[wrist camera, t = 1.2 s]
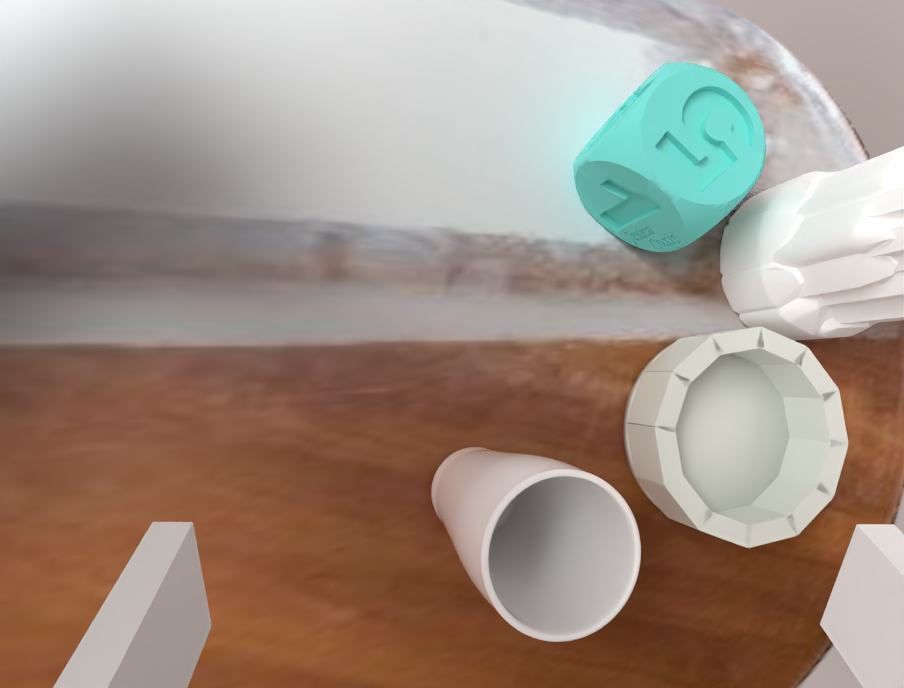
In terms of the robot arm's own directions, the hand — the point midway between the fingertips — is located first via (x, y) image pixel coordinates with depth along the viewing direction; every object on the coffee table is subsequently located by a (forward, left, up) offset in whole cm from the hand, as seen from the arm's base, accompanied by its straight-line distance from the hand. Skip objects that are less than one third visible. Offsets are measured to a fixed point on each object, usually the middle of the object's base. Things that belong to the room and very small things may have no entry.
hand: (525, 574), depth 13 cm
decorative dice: (-3, +24, -26) cm, 35 cm away
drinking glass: (+6, +2, -26) cm, 27 cm away
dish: (+14, +17, -26) cm, 34 cm away
